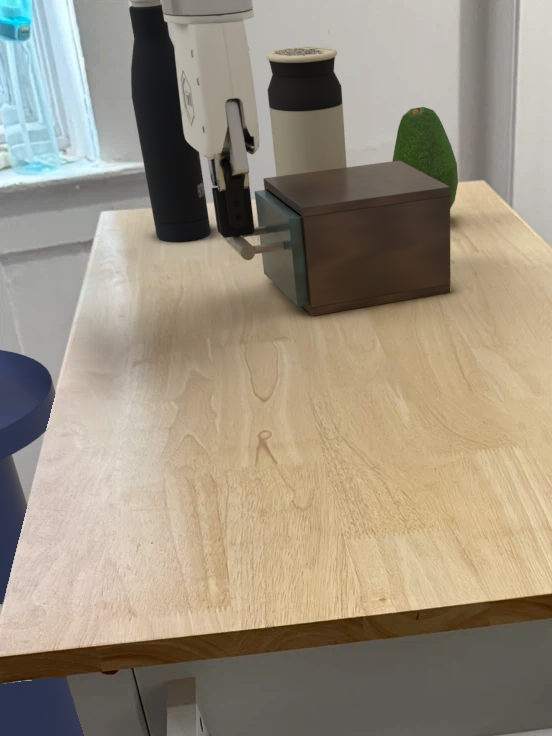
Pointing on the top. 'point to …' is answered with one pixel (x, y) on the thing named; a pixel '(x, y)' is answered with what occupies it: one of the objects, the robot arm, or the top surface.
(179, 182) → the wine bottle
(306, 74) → the travel mug
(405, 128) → the avocado
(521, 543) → the top surface
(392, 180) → the cabinet
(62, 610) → the top surface
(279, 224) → the drawer
